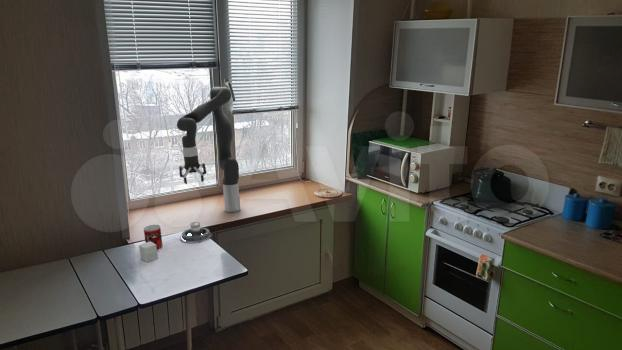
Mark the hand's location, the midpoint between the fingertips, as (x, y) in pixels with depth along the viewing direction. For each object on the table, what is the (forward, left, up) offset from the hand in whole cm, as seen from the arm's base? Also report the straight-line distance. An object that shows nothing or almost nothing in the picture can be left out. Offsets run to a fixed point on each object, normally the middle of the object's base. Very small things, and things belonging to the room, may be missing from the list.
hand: (194, 182), depth 258 cm
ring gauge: (+2, +18, -25) cm, 31 cm away
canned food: (+23, +25, -25) cm, 42 cm away
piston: (+2, +18, -24) cm, 30 cm away
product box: (+25, +38, -25) cm, 52 cm away
